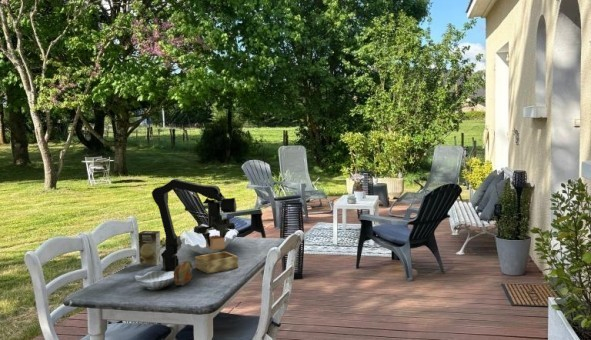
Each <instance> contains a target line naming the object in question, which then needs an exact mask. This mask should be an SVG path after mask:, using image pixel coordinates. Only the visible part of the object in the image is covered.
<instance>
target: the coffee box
mask: <svg viewBox="0 0 591 340" xmlns="http://www.w3.org/2000/svg"><path fill="white" fill-rule="evenodd" d="M161 254H162V252H161V231H159V230H142V231H140V232H139V233H138V255H139V256H138V257H139V260H138V261H139V266H158V265H159V264H161V263H162V256H161Z"/></svg>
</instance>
